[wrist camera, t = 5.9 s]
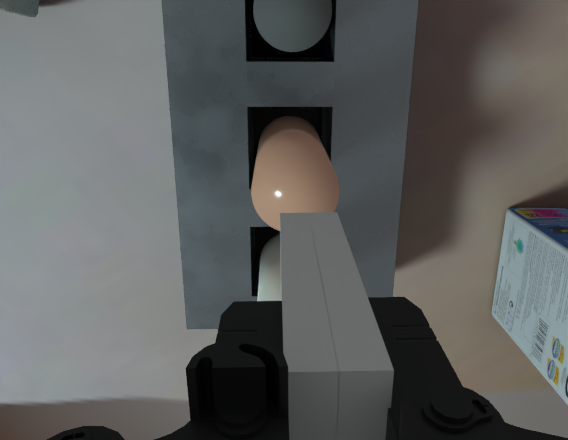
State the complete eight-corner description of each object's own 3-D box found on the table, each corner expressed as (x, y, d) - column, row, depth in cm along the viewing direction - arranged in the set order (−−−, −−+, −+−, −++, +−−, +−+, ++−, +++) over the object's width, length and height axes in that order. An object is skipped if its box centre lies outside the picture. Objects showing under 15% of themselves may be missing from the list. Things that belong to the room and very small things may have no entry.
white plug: (260, 284, 33) (255, 374, 24) (259, 232, 32) (253, 307, 23) (316, 284, 33) (331, 373, 24) (318, 232, 32) (334, 306, 23)
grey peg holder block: (201, 281, 40) (186, 329, 34) (179, -65, 32) (154, -92, 25) (371, 281, 41) (389, 327, 34) (395, -64, 32) (426, -91, 25)
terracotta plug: (258, 177, 31) (252, 233, 22) (257, 115, 29) (250, 148, 20) (319, 177, 31) (337, 233, 22) (321, 115, 29) (341, 148, 20)
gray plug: (259, 48, 33) (253, 51, 24) (258, -13, 32) (252, -34, 23) (315, 49, 33) (330, 52, 24) (317, -13, 32) (333, -34, 23)
